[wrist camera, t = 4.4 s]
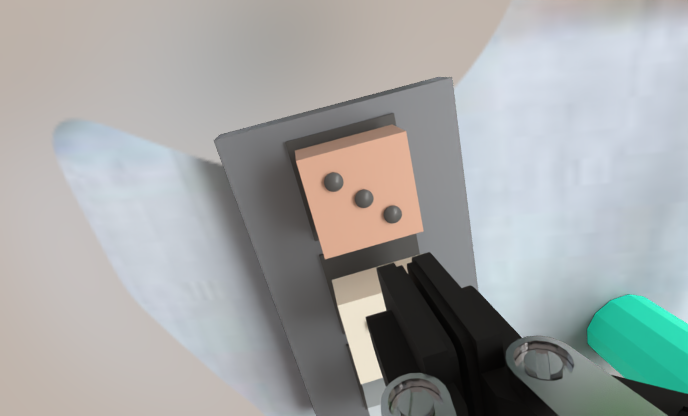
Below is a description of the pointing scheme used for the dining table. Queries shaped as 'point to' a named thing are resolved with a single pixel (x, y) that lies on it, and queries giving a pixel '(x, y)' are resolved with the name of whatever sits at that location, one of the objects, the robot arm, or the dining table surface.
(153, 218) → the dining table surface
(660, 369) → the candle
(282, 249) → the keypad board
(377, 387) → the key one
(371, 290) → the key two
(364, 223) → the key three
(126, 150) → the dining table surface
